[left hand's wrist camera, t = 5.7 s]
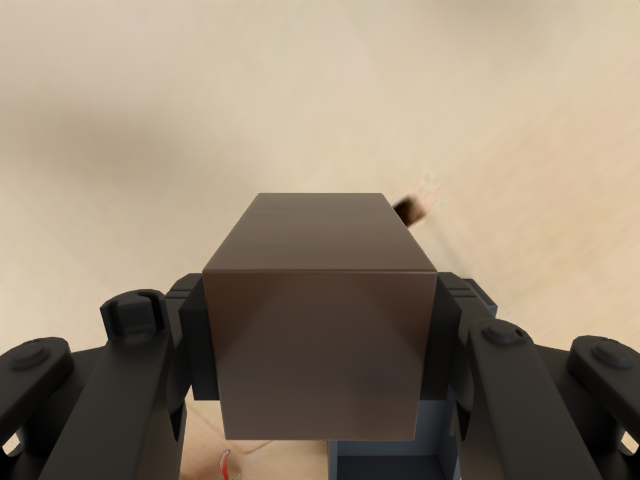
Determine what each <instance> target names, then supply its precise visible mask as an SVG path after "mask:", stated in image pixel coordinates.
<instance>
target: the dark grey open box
mask: <svg viewBox="0 0 640 480" xmlns="http://www.w3.org/2000/svg"><path fill="white" fill-rule="evenodd" d="M463 280H464V281H465V282H466V283H467V285H468V286H469V287H470V288H471V290H472V291H473V292H474V293H475V294H476V296H477V298H479V299H480V300H481V302H482V303H483V304H484V305H485V306H486V308H487V309H488V310H489V311H490V313H491V314H492V315H493V316H494V317H496V312H497V308H498V306H497V305H496V304H495V303H494V302H493V301H492V299H491V298H490V297H489V296H488V295H487V294H486V293H485V292H484V291H483V290H482V289H481V288H480V286H479V285H478V284H477V283H476V282H475V281H474V280H473V279H463ZM455 399H456V396H455V394H454V392H453V390H452V388H451V386H450V384H449V386H448V392H447V397H446V400H420V402H419V409H418V416H417V423H416V430H415V437H414V440H412V441H381V440H328V480H460V478H461V472H460V464H459V456H458V448H457V440H456V432H455V431H454V436H449V430H450V424H451V419H452V414H453V409H454V404H455Z"/></svg>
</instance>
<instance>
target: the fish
mask: <svg viewBox="0 0 640 480" xmlns="http://www.w3.org/2000/svg"><path fill="white" fill-rule="evenodd" d="M229 453H230V450H226V451H225V453H224V454H223V456H222V459H221V462H220V470H221V473H222V477H223V480H229V479H228V474H227V467H226V457H227V455H228V454H229ZM241 476H242V473H240V474H239V475H238V476H236V477H235V478H234V479H233V480H240V479H241Z"/></svg>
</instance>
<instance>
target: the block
mask: <svg viewBox="0 0 640 480" xmlns="http://www.w3.org/2000/svg"><path fill="white" fill-rule="evenodd" d="M437 274H438V272H437V270H436V268H435V267H434V265H433V264H432V263H431V261H430V260H429V258H428V257H427V256H426V254H425V253H424V251H423V250H422V249H421V247H420V246H419V244H418V243H417V242H416V240H415V239H414V237H413V236H412V235H411V233H410V232H409V230H408V229H407V228H406V226H405V225H404V223H403V222H402V221H401V219H400V218H399V216H398V215H397V214H396V212H395V211H394V209H393V208H392V207H391V205H390V204H389V202H388V201H387V200H386V198H385V197H384V195H383V194H382V193H259V194H258V195H257V196H256V198H255V199H254V200H253V202H252V203H251V204H250V206H249V207H248V209H247V210H246V211H245V213H244V214H243V215H242V217H241V218H240V220H239V221H238V222H237V224H236V225H235V226H234V228H233V229H232V231H231V232H230V233H229V235H228V236H227V237H226V239H225V240H224V241H223V243H222V244H221V246H220V247H219V248H218V250H217V251H216V252H215V254H214V255H213V257H212V258H211V259H210V261H209V262H208V263H207V265H206V266H205V268H204V269H203V271H202V275H203V282H204V289H205V296H206V304H207V311H208V318H209V325H210V332H211V339H212V346H213V354H214V361H215V368H216V375H217V382H218V389H219V396H220V404H221V411H222V418H223V425H224V432H225V439H226V440H381V441H412V440H414V437H415V430H416V423H417V416H418V409H419V402H420V395H421V387H422V380H423V373H424V366H425V359H426V352H427V345H428V338H429V331H430V324H431V316H432V309H433V302H434V295H435V288H436V281H437Z"/></svg>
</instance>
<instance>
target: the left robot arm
mask: <svg viewBox="0 0 640 480" xmlns="http://www.w3.org/2000/svg"><path fill="white" fill-rule="evenodd" d="M100 311H101V315H102V319H103V322H104V326H105V329H106V333H107V336H108V341H107V343H106V345H105V346H103V347H99V348H94V349H89V350H84V351H78V352H73V353H71V351H70V348H69V345H68V342H67V341H66V340H64V339H63V338H58V337H47V338H38V339H34V340H33V341H32V340H30V341H27V342H24V343H22V344H21V345H19V346H17V347H14V348H12V349H10V350H9V351H7V352H6V353H4V354H3V355H1V356H0V480H179V473H180V465H181V457H182V449H183V441H184V433H185V425H186V417H187V410H186V404H185V397H186V395H187V392H188V390H189V388H190V386H191V385H192V390H193V396H194V400H220V396H219V389H218V382H217V375H216V368H215V361H214V354H213V346H212V339H211V332H210V325H209V318H208V311H207V304H206V296H205V289H204V282H203V275H202V273H189V274H188V275H186V276H184V277H183V278H181V279H179V280H178V281H177V282H176V283H175V284H174V285H173V286H172V288H171V289H170V291H168V293H167V294H166V295H165V296H164V294H163V293H161V292H160V291H157V290H153V289H139V290H134V291H129V292H126V293H123V294H120V295H117V296H115V297H113V298H111V299H110V300H108V301H106V302H105V303H104V304H103V305H102V306H101V307H100ZM449 384H450V386H451V388H452V390H453V392H454V394H455V396H456V399H455V404H454V409H453V414H452V419H451V424H450V430H449V436H454V431H455V432H456V440H457V448H458V456H459V464H460V472H461V480H640V353H638V352H636V351H635V350H633V349H632V348H630V347H628V346H626V345H623V344H621V343H619V342H618V341H616V340H612V339H608V338H605V337H598V336H590V335H587V336H579V337H577V338H576V339H575V340H573V343H572V346H571V349H570V351H565V350H560V349H554V348H549V347H544V346H540V345H536V344H534V342H533V340H532V339H531V337H530V336H529V335H528V334H527V332H526V331H524V330H523V329H521V328H520V327H518V326H517V325H514V324H512V323H509V322H507V321H504V320H500V319H495V317H494V316H493V315H492V314H491V313H490V311H489V310H488V309H487V308H486V306H485V305H484V304H483V303H482V302H481V300H480V299H479V298H477V296H476V294H475V293H474V292H473V291H472V290H471V288H470V287H469V286H468V285H467V283H466V282H465V281H464V280H463V279H461V278H460V277H458V276H456V275H455V274H453V273H451V272H438V274H437V281H436V288H435V295H434V302H433V309H432V316H431V324H430V331H429V338H428V345H427V352H426V359H425V366H424V373H423V380H422V387H421V395H420V400H446V397H447V392H448V386H449ZM625 431H627V432H628V434H629V435H630V436H631V437H632V438H633V439H634V440H635V441H636V442H637V443H638V444H639V447H638V449H637V451H636V452H635V453H634V454H633V453H632V452H631V451H630V450H629V449H627V448H626V446H625V445H624V444H623V443H622V442H621V440H622V438H623V435H624V433H625ZM15 432H16V435H17V437H18V439H19V441H20V443H19V444H18V445H17V447H16V448H15V449H14V450H13V451H12V452H10V453H9V454H8V455H7V454H5V452H4V450H3V448H2V446H3V445H4V444H5V443H6V442H7V441H8V440H9V439H10V438H11V437H12V435H13V434H14V433H15Z"/></svg>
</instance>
